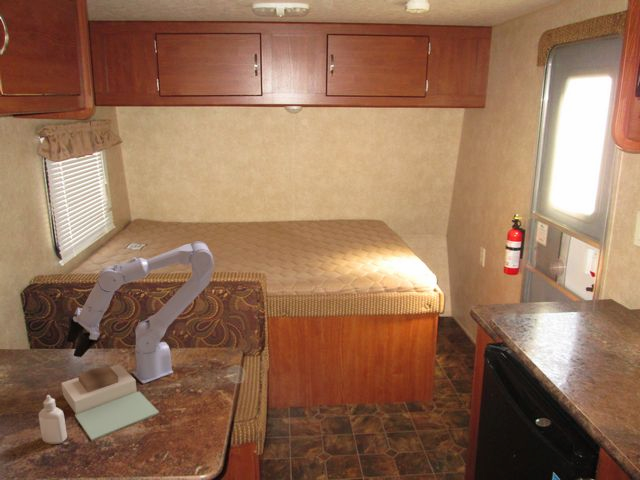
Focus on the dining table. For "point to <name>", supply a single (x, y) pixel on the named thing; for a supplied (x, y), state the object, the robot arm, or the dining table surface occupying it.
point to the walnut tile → (98, 378)
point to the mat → (116, 415)
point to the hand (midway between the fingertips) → (73, 348)
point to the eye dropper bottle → (52, 422)
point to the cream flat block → (98, 391)
